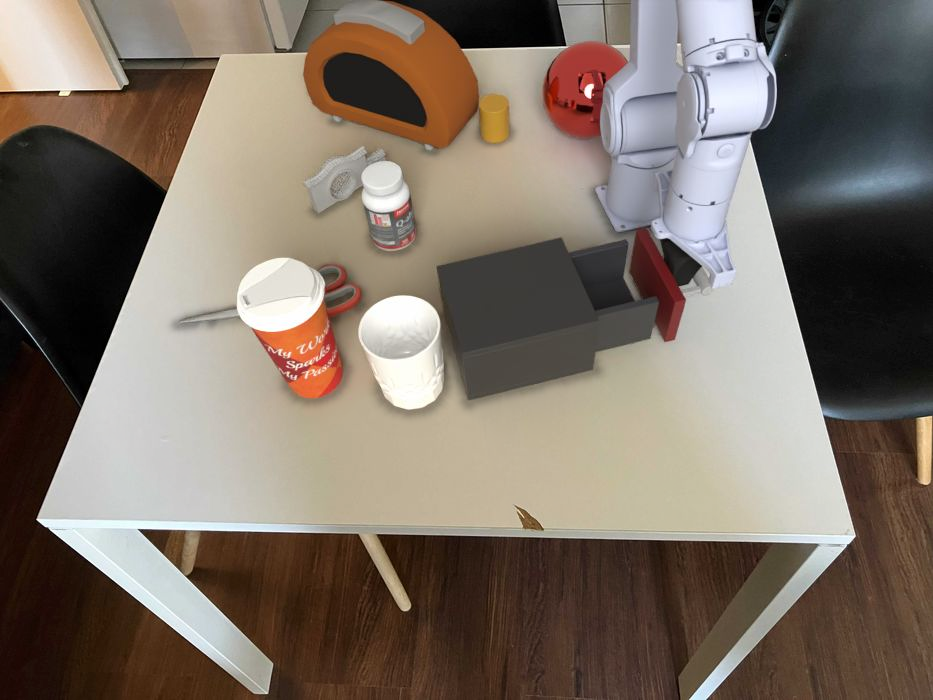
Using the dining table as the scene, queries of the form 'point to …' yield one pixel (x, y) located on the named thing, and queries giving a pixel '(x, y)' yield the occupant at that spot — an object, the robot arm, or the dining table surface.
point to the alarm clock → (392, 73)
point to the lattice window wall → (332, 169)
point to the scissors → (330, 294)
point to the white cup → (404, 350)
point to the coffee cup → (292, 324)
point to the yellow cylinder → (494, 118)
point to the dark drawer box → (518, 317)
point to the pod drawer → (614, 300)
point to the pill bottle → (388, 206)
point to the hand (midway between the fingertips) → (677, 281)
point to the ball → (580, 86)
